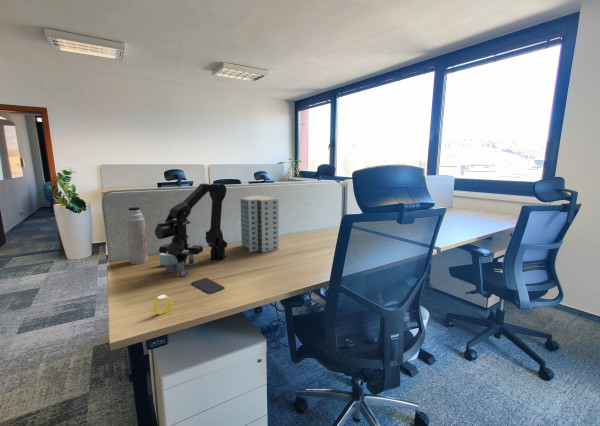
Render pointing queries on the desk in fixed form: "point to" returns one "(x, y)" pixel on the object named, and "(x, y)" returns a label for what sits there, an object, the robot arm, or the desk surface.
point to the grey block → (181, 269)
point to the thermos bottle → (136, 236)
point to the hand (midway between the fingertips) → (182, 266)
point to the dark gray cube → (171, 267)
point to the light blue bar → (167, 259)
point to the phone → (208, 285)
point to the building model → (259, 223)
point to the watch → (162, 297)
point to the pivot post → (191, 260)
